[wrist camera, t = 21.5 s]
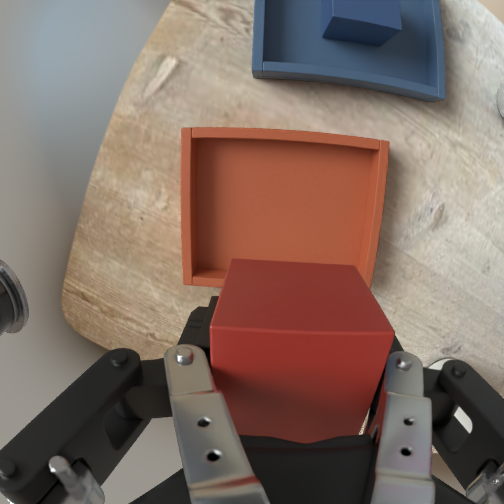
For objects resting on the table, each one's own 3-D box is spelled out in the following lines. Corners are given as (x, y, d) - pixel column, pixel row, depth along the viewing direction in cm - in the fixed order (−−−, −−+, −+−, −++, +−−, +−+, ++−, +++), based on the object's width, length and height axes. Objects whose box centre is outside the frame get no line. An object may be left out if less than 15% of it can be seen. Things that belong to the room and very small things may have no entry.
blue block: (321, 37, 21) (332, 16, 16) (320, -11, 19) (330, -38, 14) (379, 47, 21) (402, 30, 16) (377, -1, 19) (397, -24, 14)
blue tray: (253, 77, 23) (251, 70, 20) (258, -42, 19) (257, -57, 16) (430, 102, 23) (446, 99, 20) (423, -14, 18) (435, -24, 16)
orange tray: (190, 272, 29) (183, 285, 26) (190, 129, 25) (181, 127, 22) (361, 280, 28) (369, 294, 26) (378, 141, 24) (389, 141, 22)
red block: (229, 358, 14) (214, 442, 10) (230, 257, 13) (208, 325, 8) (335, 362, 14) (355, 444, 9) (355, 264, 13) (397, 332, 8)
